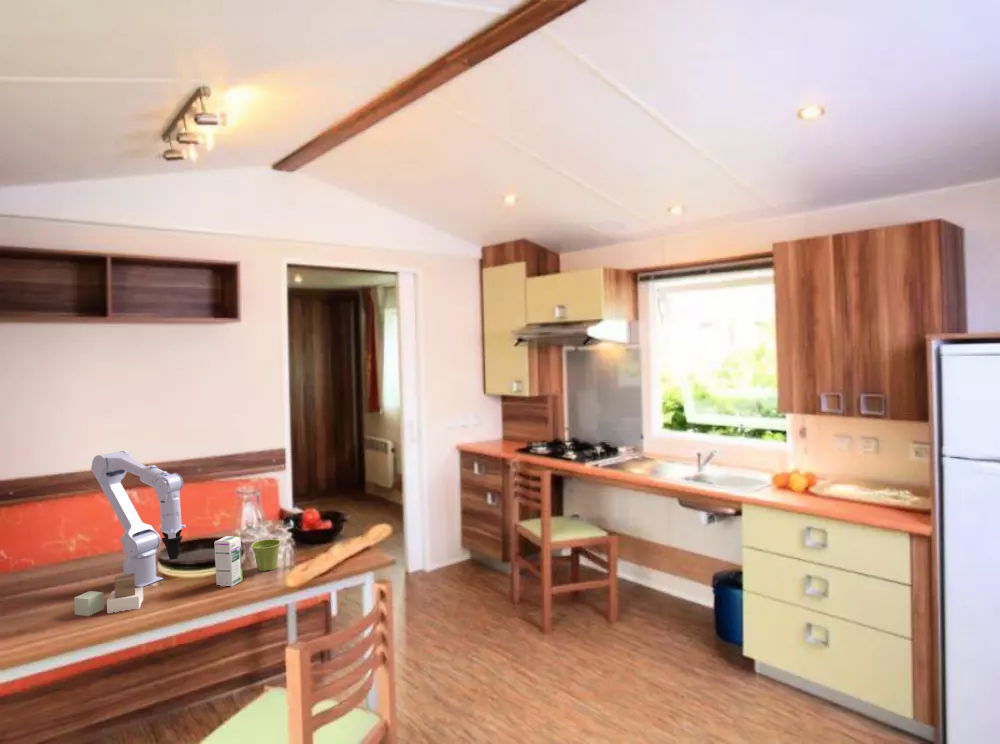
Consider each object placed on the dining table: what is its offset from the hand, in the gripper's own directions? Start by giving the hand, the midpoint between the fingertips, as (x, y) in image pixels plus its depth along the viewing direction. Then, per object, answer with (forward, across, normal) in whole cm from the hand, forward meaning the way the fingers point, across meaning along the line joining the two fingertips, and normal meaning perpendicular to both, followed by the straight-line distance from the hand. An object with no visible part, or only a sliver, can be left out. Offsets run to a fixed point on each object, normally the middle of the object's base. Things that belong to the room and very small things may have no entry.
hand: (173, 555), depth 203 cm
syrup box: (+11, -5, -15) cm, 19 cm away
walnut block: (+6, -10, +13) cm, 17 cm away
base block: (+10, -9, +13) cm, 19 cm away
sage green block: (+10, -9, +22) cm, 26 cm away
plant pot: (+11, +3, -28) cm, 30 cm away
